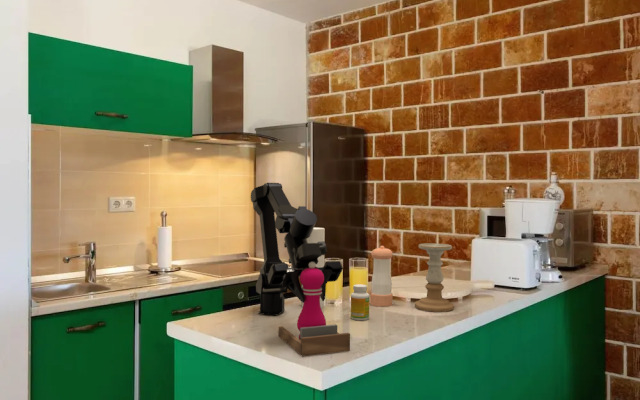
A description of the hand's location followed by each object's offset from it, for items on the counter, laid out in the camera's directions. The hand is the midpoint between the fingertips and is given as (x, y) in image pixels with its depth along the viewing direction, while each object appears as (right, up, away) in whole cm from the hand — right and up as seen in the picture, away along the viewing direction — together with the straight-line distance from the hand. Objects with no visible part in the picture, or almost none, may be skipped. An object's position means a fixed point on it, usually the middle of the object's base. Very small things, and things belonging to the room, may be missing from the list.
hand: (313, 300), depth 134 cm
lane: (-1, -11, +2) cm, 11 cm away
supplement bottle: (+13, -10, +26) cm, 31 cm away
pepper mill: (-1, -11, +2) cm, 11 cm away
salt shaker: (+22, -10, +46) cm, 52 cm away
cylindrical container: (-1, -10, +42) cm, 43 cm away
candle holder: (+38, -10, +41) cm, 57 cm away
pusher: (+1, -11, -3) cm, 11 cm away
